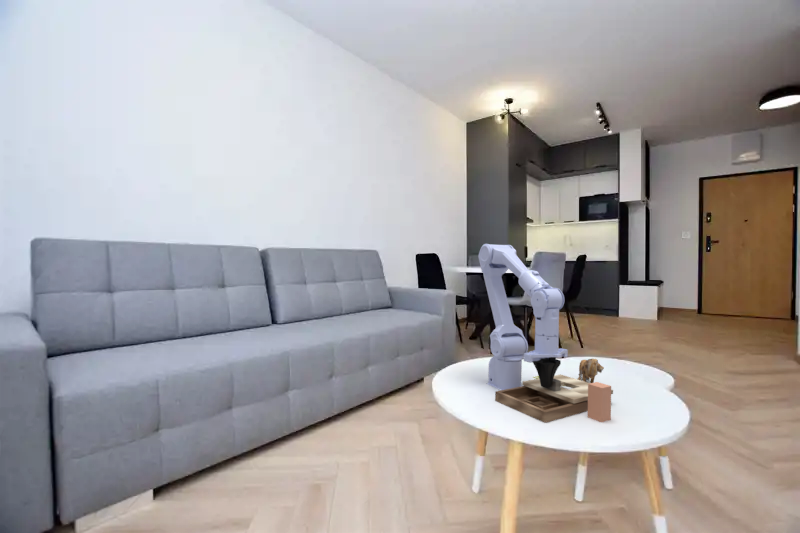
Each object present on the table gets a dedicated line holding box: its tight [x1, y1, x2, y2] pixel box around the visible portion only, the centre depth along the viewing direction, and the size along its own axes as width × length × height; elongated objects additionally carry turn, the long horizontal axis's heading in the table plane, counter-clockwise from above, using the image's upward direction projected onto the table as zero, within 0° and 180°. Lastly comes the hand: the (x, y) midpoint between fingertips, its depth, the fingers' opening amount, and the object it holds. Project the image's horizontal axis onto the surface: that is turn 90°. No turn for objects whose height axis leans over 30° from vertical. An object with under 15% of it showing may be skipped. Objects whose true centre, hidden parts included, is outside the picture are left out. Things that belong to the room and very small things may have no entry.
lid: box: [521, 374, 614, 404], centre depth 101 cm, size 16×16×4 cm
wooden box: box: [494, 385, 588, 424], centre depth 96 cm, size 16×16×3 cm
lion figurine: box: [577, 358, 605, 383], centre depth 119 cm, size 15×5×9 cm, turn 173°
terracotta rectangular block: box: [587, 381, 612, 423], centre depth 89 cm, size 4×4×8 cm
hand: (545, 386), depth 97 cm, fingers closed
